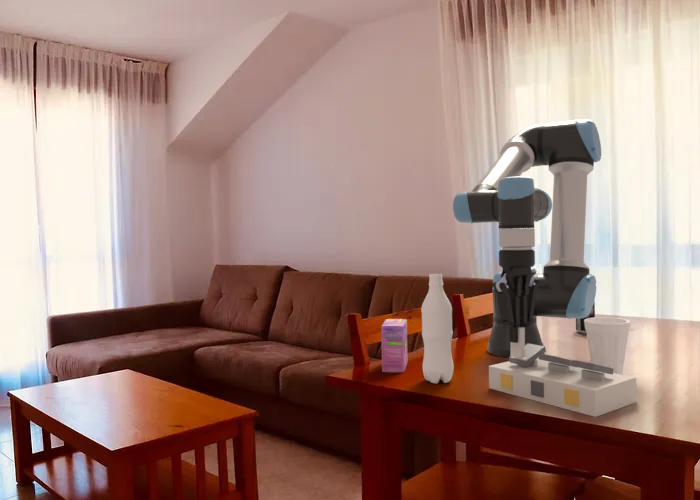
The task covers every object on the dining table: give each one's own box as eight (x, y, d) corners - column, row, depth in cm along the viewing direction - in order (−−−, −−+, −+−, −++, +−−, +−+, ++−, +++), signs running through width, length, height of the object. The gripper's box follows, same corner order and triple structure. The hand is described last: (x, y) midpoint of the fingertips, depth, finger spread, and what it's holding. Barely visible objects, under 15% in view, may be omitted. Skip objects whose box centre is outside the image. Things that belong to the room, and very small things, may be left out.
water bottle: (453, 385, 138) (450, 275, 137) (421, 384, 139) (418, 276, 138) (454, 377, 145) (451, 272, 144) (424, 376, 146) (421, 273, 145)
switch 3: (591, 370, 125) (592, 364, 125) (612, 374, 121) (613, 368, 121) (571, 365, 121) (573, 359, 121) (592, 370, 117) (593, 363, 117)
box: (404, 372, 151) (403, 325, 150) (381, 372, 152) (380, 325, 151) (408, 362, 161) (407, 318, 160) (386, 362, 162) (385, 318, 162)
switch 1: (529, 348, 138) (527, 343, 138) (546, 351, 134) (544, 346, 134) (510, 362, 134) (508, 357, 134) (526, 366, 130) (525, 360, 130)
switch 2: (558, 363, 131) (559, 357, 131) (577, 367, 128) (578, 361, 128) (538, 359, 127) (539, 353, 128) (557, 363, 124) (558, 356, 124)
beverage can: (596, 331, 196) (596, 294, 196) (593, 334, 191) (592, 296, 191) (578, 330, 199) (577, 293, 199) (574, 333, 195) (573, 295, 194)
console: (530, 377, 142) (529, 350, 142) (636, 402, 121) (636, 370, 121) (488, 388, 134) (487, 359, 134) (594, 417, 113) (594, 383, 113)
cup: (627, 383, 135) (627, 325, 134) (580, 378, 140) (579, 322, 139) (633, 373, 143) (633, 318, 143) (588, 369, 148) (588, 316, 148)
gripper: (522, 247, 138) (523, 350, 139) (482, 249, 131) (484, 358, 131) (550, 247, 132) (551, 355, 133) (510, 250, 124) (511, 364, 125)
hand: (517, 356), depth 132 cm, fingers closed
